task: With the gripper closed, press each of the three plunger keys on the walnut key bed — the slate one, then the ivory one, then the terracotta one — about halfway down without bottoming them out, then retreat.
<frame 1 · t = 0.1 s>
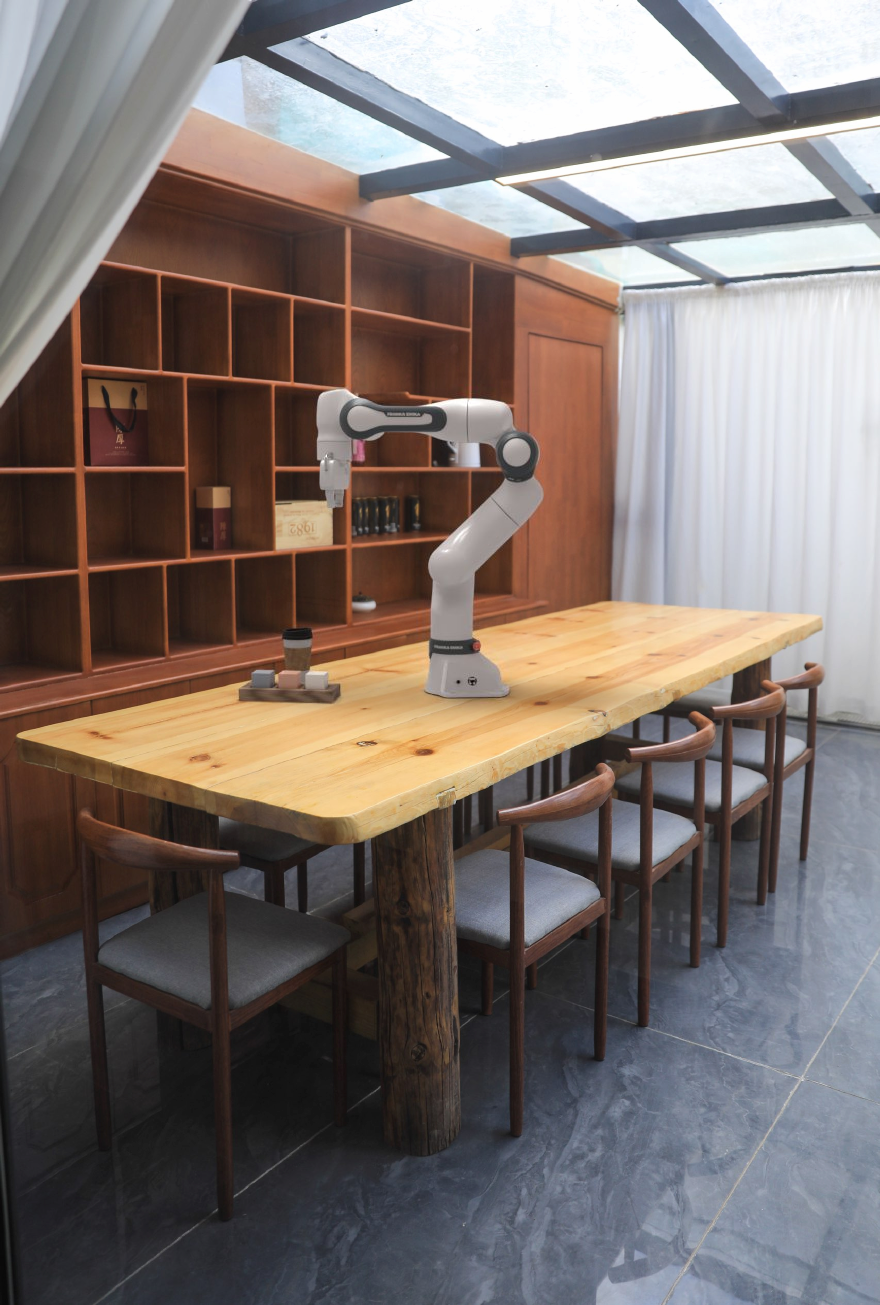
hand: (335, 507, 265), 48 cm above the table, fingers open, 8 cm apart
slate key: (263, 679, 261), point 5 cm above the table, slide at 0.0 cm
ivory key: (316, 680, 259), point 5 cm above the table, slide at 0.0 cm
key bed: (290, 697, 261), on the table
terracotta key: (290, 680, 260), point 5 cm above the table, slide at 0.0 cm
coffee cup: (298, 682, 280), on the table
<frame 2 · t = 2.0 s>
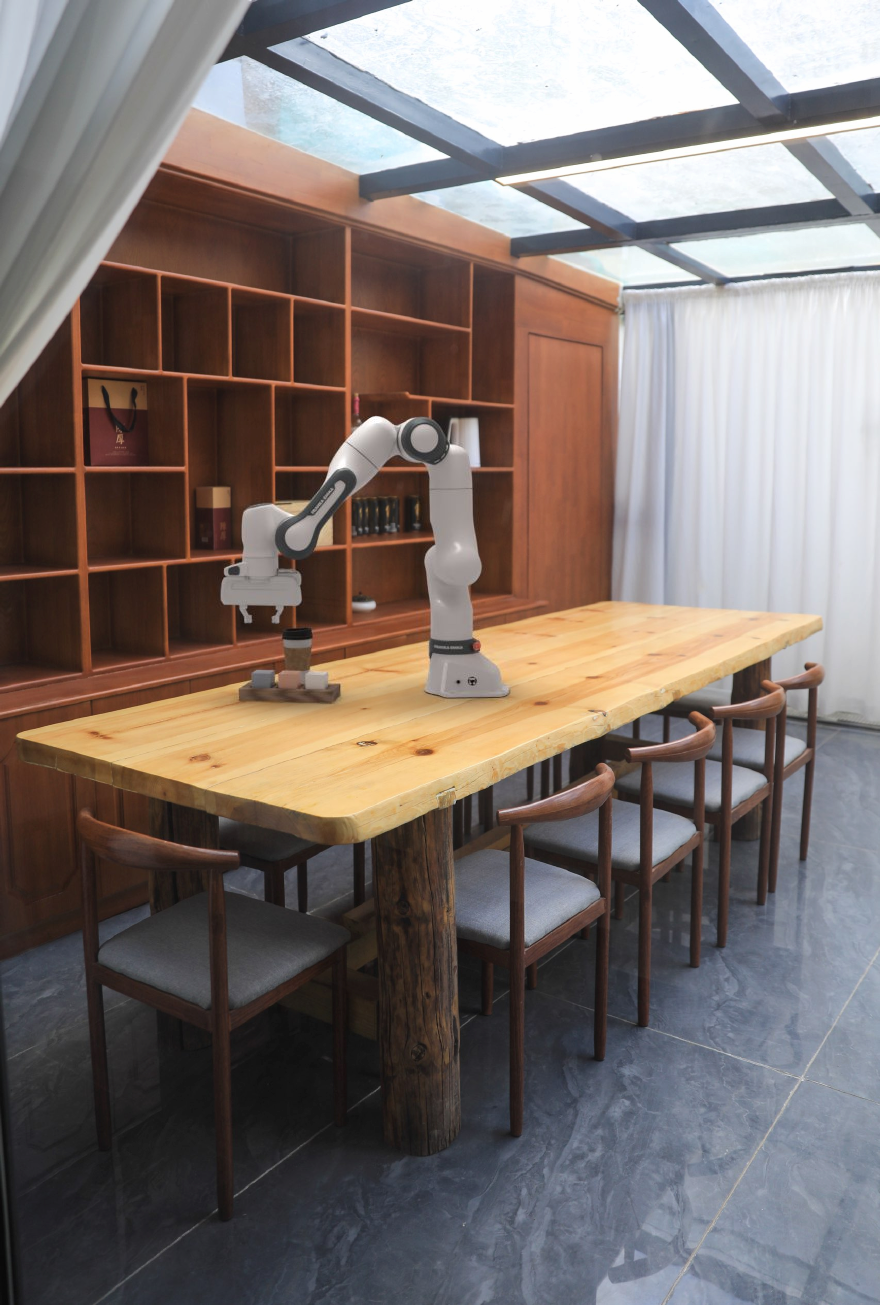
hand: (261, 622, 258), 19 cm above the table, fingers open, 6 cm apart
nothing on the table moved.
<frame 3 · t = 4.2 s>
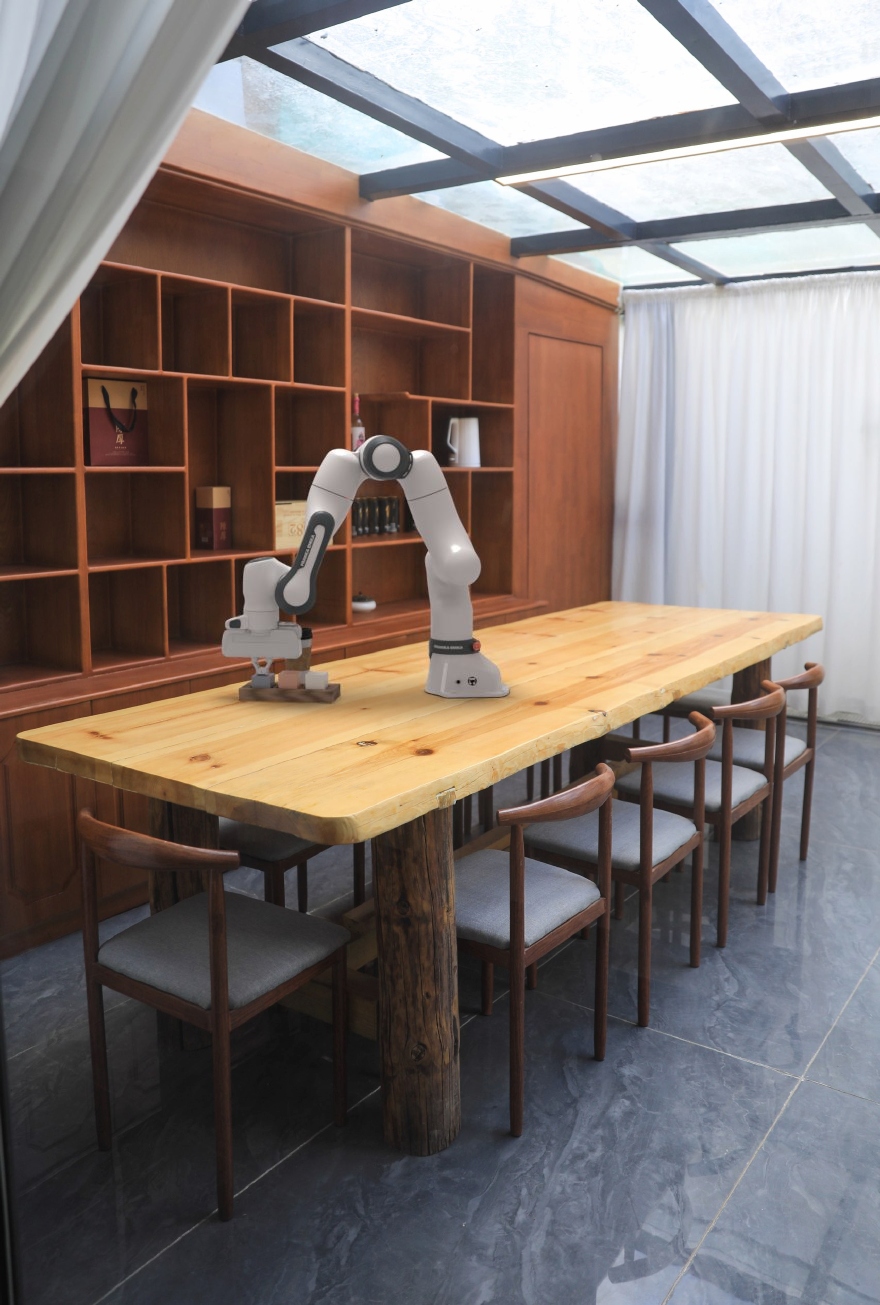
hand: (262, 674, 260), 6 cm above the table, fingers closed, pressing on slate key
slate key: (263, 682, 261), point 4 cm above the table, slide at 0.8 cm, touching gripper
everything else where it was.
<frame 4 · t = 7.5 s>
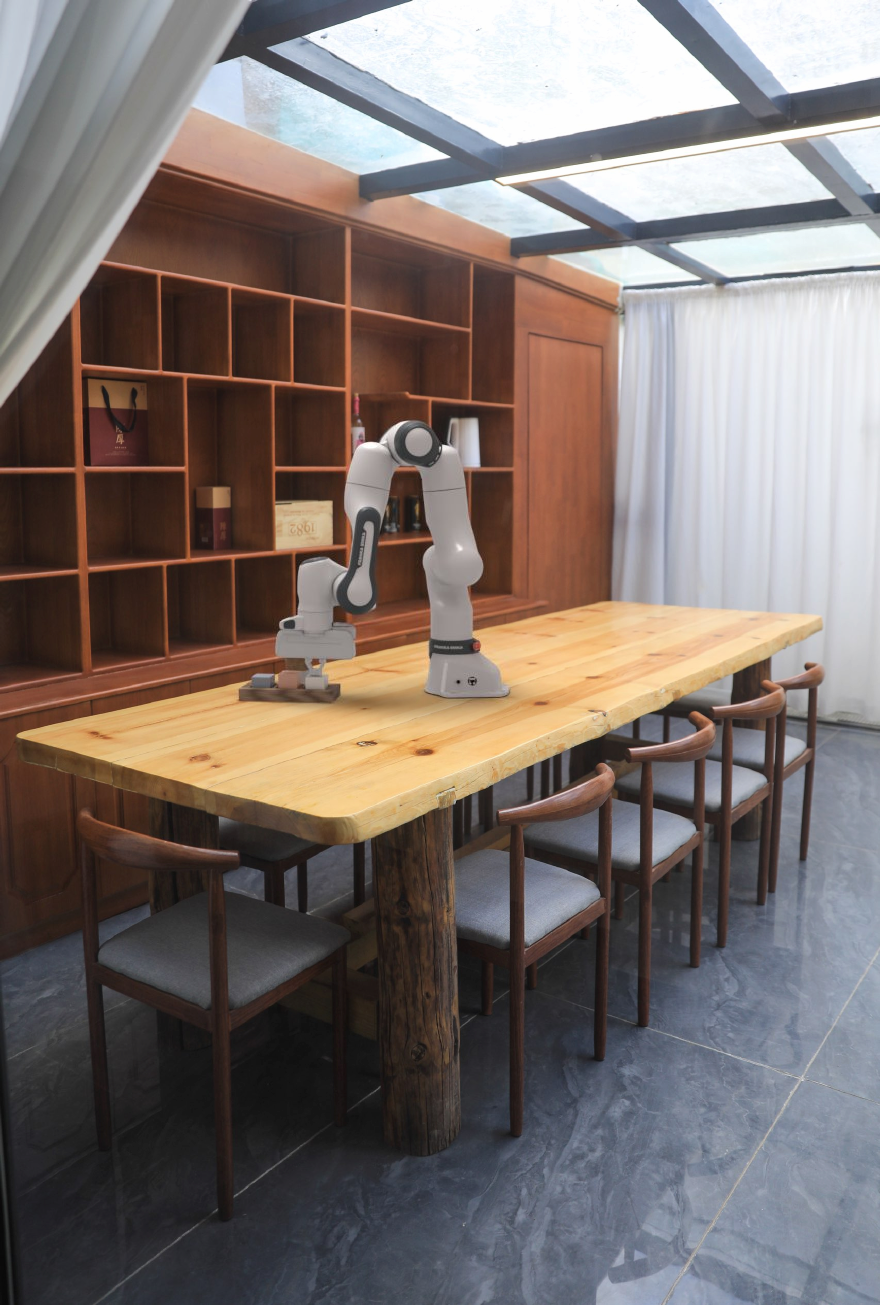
hand: (315, 675, 259), 6 cm above the table, fingers closed, pressing on ivory key
slate key: (263, 683, 261), point 4 cm above the table, slide at 1.0 cm
ivory key: (316, 683, 259), point 4 cm above the table, slide at 0.7 cm, touching gripper
everything else where it was.
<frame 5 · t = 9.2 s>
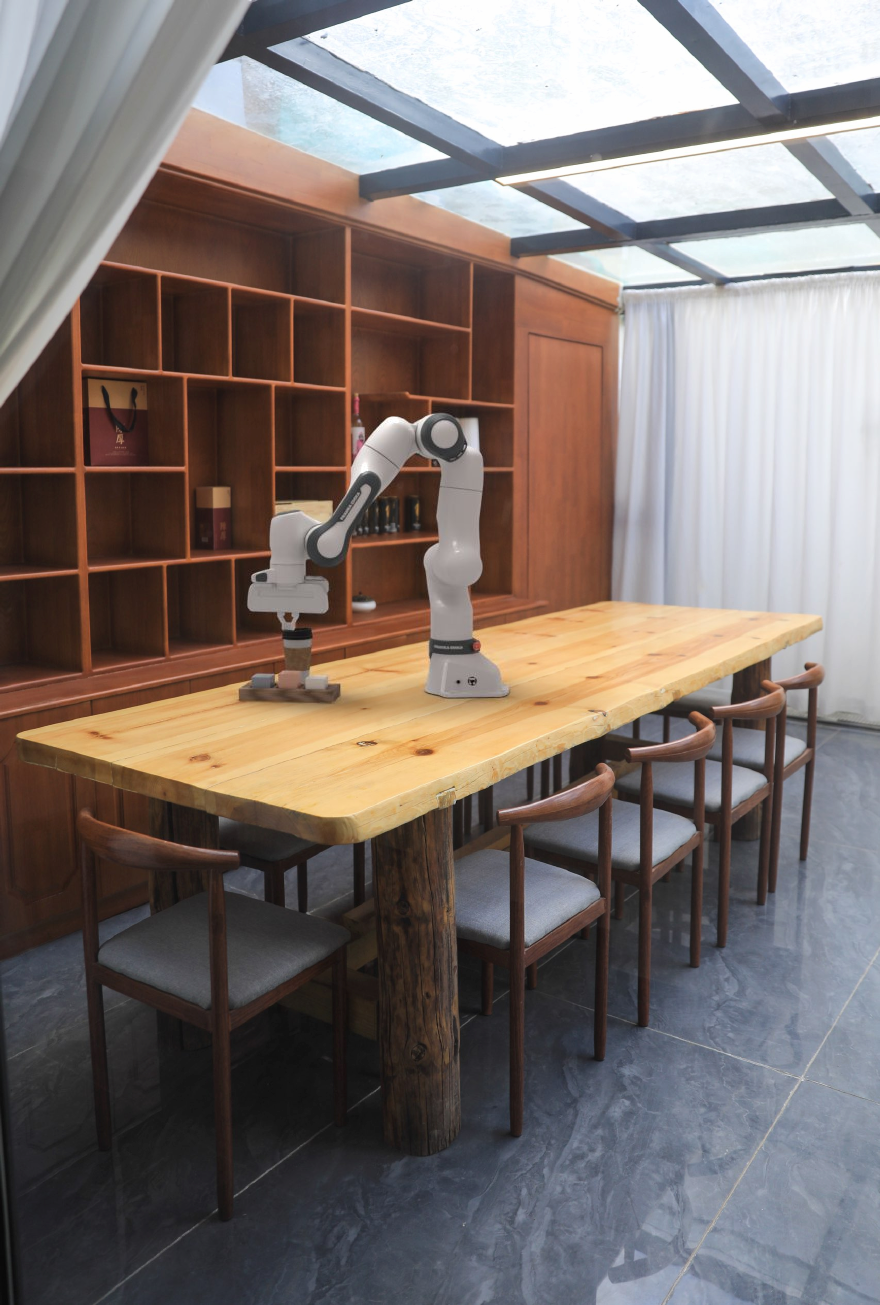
hand: (288, 629, 257), 18 cm above the table, fingers closed
ivory key: (317, 684, 259), point 4 cm above the table, slide at 1.0 cm
everything else where it was.
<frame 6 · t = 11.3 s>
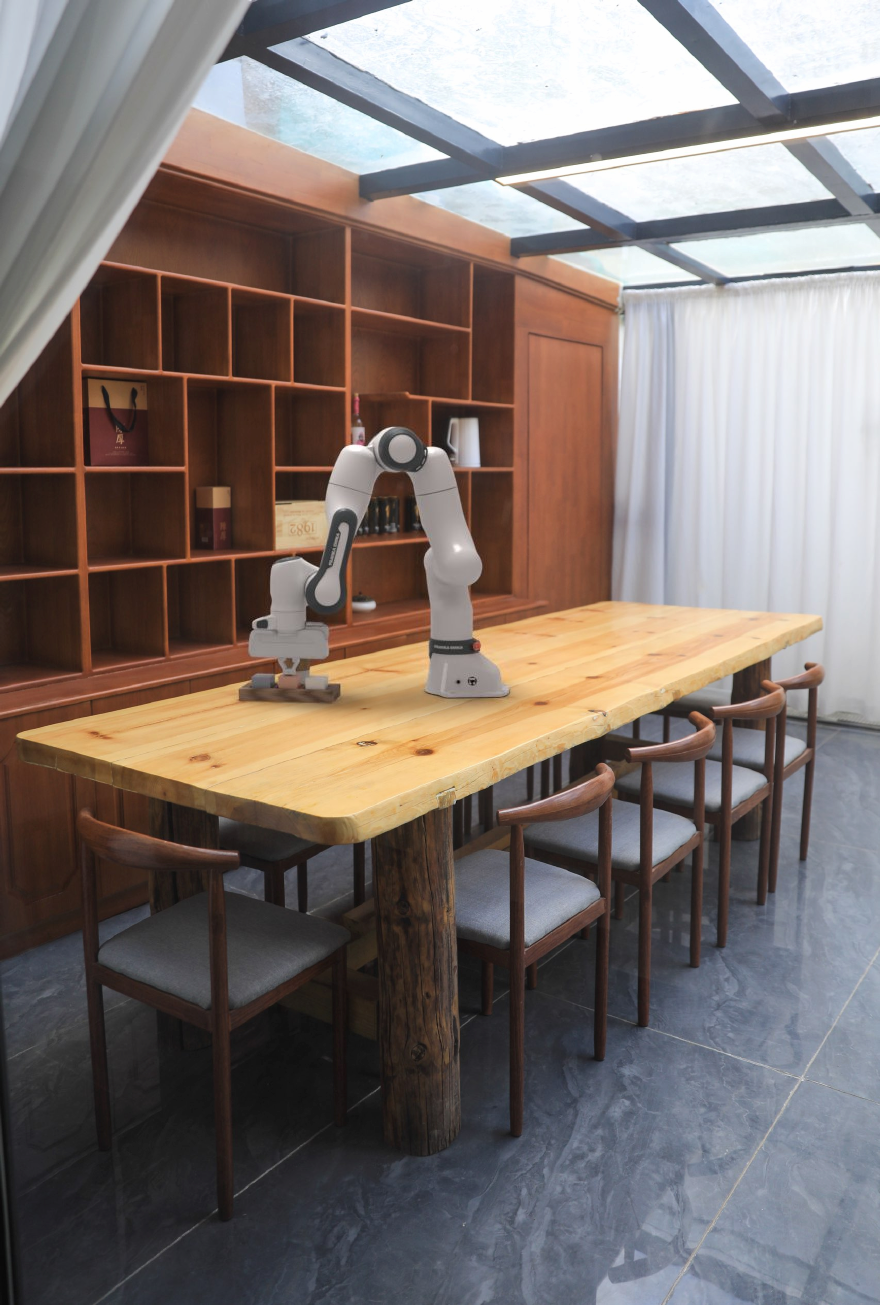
hand: (289, 675, 259), 6 cm above the table, fingers closed, pressing on terracotta key
terracotta key: (290, 682, 260), point 4 cm above the table, slide at 0.7 cm, touching gripper
everything else where it was.
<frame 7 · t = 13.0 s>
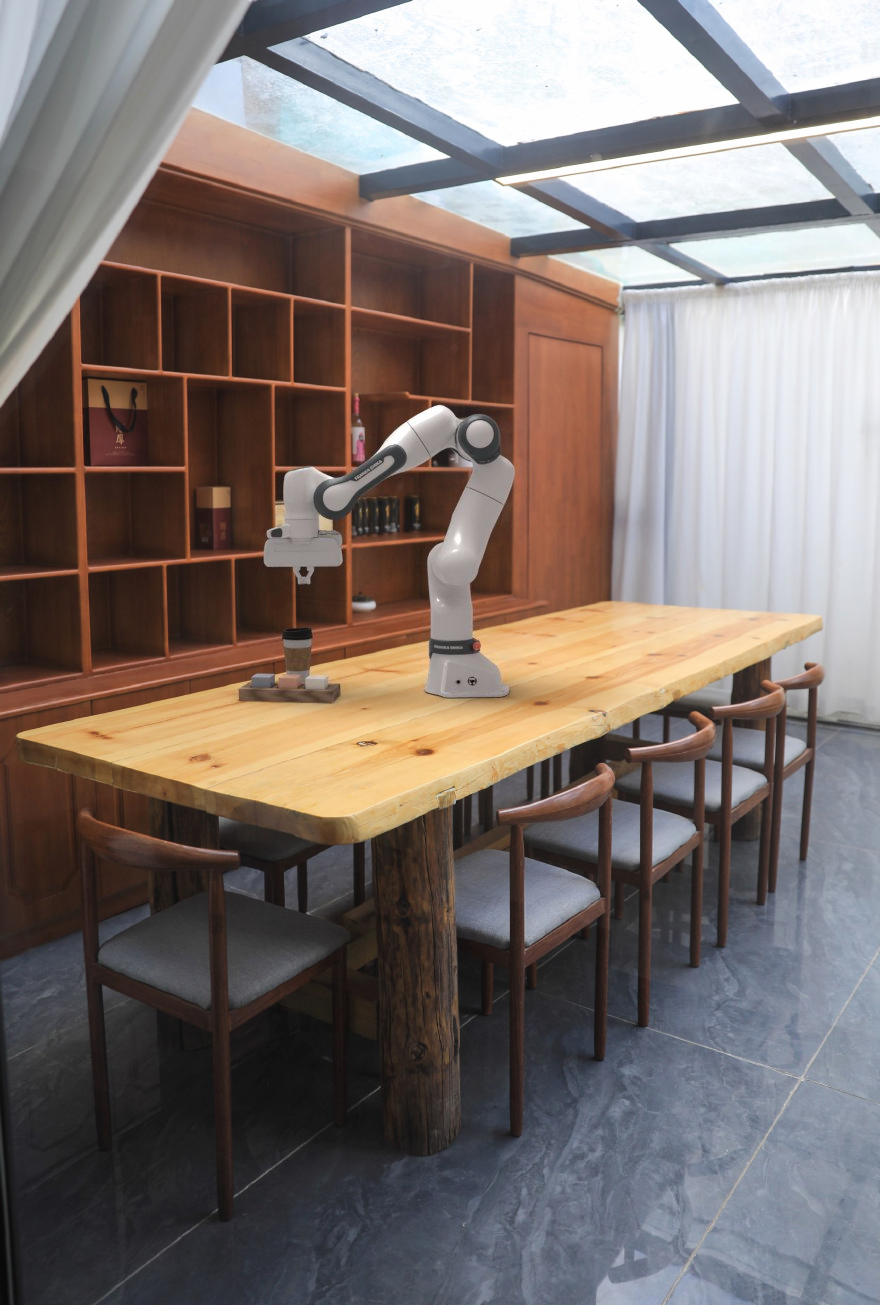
hand: (304, 583, 264), 28 cm above the table, fingers closed
terracotta key: (290, 684, 260), point 4 cm above the table, slide at 1.0 cm
everything else where it was.
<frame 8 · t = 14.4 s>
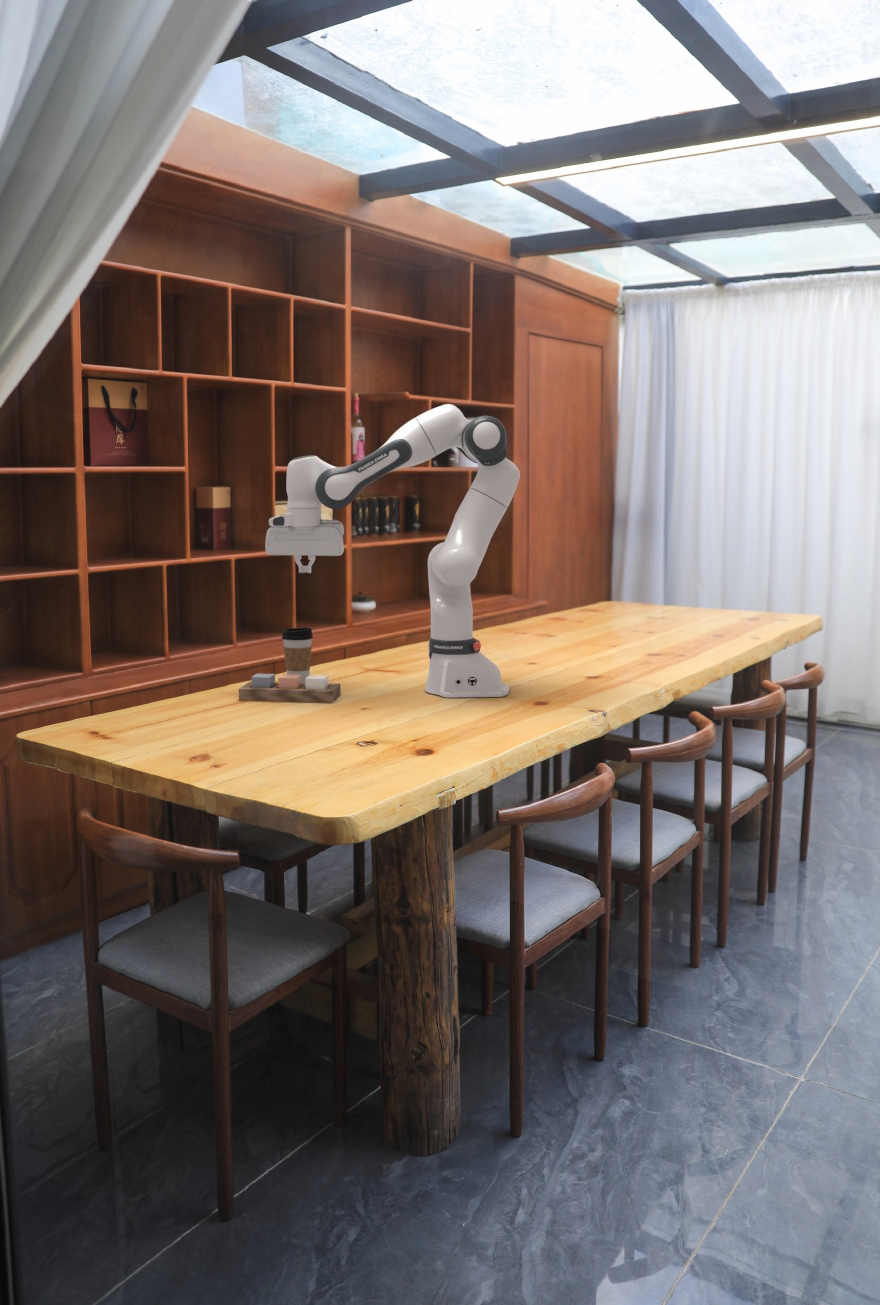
hand: (305, 572, 265), 31 cm above the table, fingers closed
nothing on the table moved.
at the end: slate key slide at 1.0 cm; ivory key slide at 1.0 cm; terracotta key slide at 1.0 cm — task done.
